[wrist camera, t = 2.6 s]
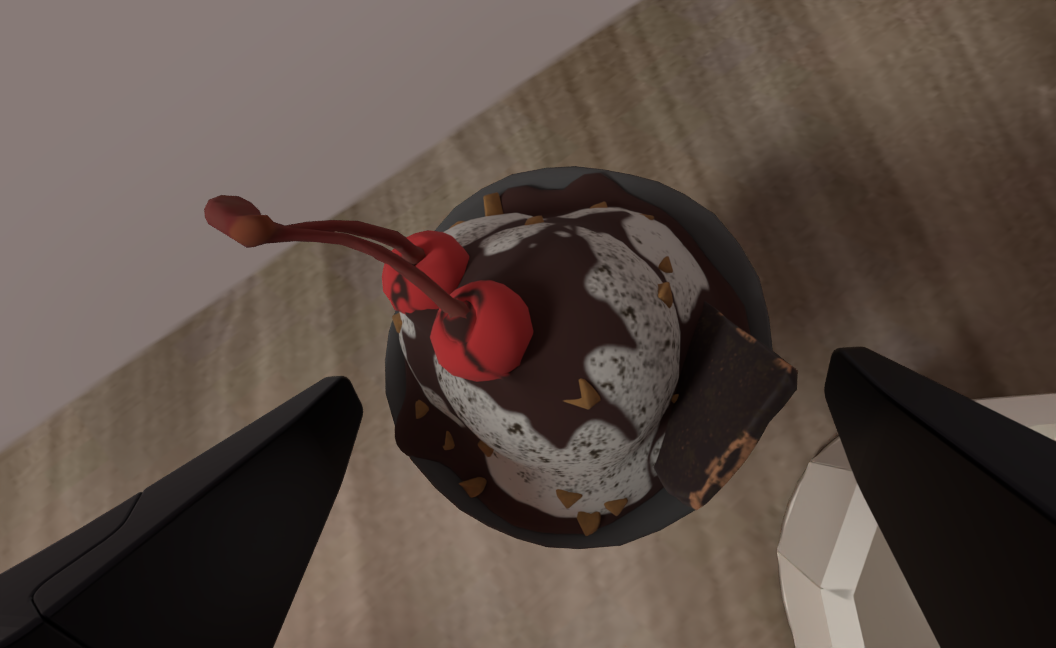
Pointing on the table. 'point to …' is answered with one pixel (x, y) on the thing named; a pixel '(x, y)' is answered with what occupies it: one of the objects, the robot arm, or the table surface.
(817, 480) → the white faceted bowl
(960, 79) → the table surface
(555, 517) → the sundae
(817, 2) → the table surface
